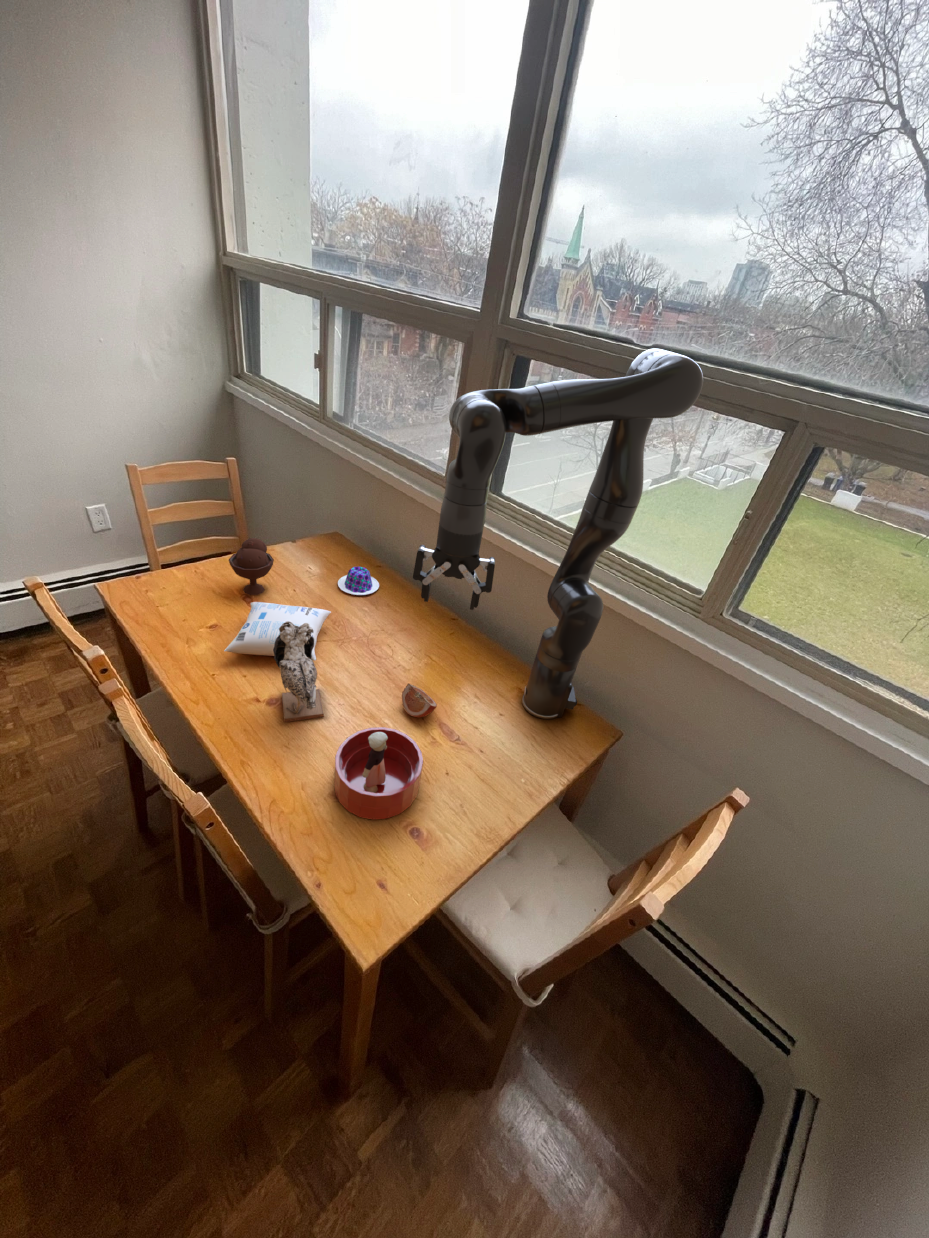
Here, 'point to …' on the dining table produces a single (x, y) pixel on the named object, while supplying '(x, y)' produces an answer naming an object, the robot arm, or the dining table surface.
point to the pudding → (358, 582)
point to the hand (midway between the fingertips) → (449, 603)
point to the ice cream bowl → (252, 564)
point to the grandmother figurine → (375, 762)
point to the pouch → (273, 627)
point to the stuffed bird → (297, 672)
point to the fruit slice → (417, 701)
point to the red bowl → (399, 770)
